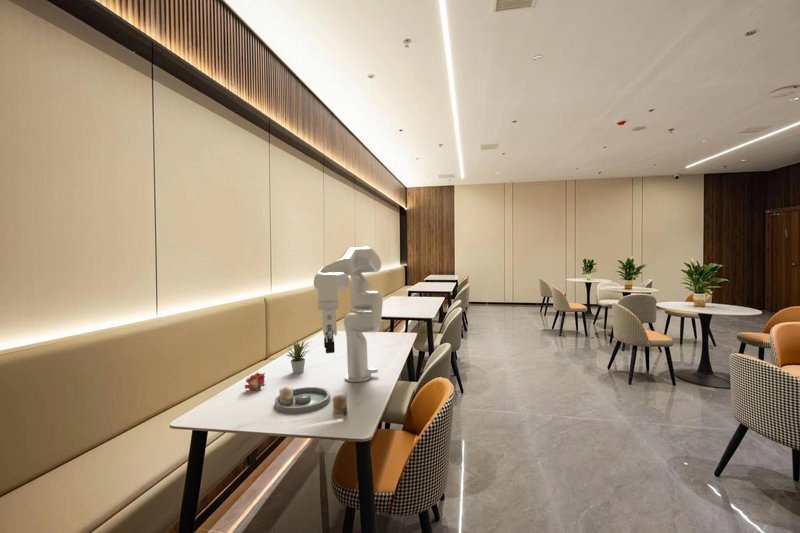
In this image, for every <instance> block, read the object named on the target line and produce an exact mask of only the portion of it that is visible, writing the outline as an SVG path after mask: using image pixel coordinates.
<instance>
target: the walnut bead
mask: <svg viewBox="0 0 800 533" xmlns="http://www.w3.org/2000/svg"><path fill="white" fill-rule="evenodd" d="M347 400H348V397H347V395H345V394H337V395H335V396H333V398H332V404H333V406H332V408H333V409H332V410H333V411H332V412H333V413H334V414H336V415H339V414H340V415H342V414H343V416H346V415H347V414H348V401H347Z"/></svg>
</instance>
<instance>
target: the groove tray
mask: <svg viewBox="0 0 800 533" xmlns="http://www.w3.org/2000/svg"><path fill="white" fill-rule="evenodd" d="M330 401H331V394H330V390H328V389H326V388H324V387H319V386H307V387H305V386H304V387H297V388H293V404H292V405H290V406H283V405H280V394H279V395H278V396H277V397H275V400H274V408H275V409H276V410H277V411H278V412H280V413H283V414H302V413H309V412H312V411H313V412H314V411H316V410H318V409H321V408H323V407H325V406H326V405H328V404H329V402H330Z"/></svg>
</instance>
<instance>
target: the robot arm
mask: <svg viewBox="0 0 800 533" xmlns="http://www.w3.org/2000/svg"><path fill="white" fill-rule="evenodd" d="M381 268H382V261H381V258H380V256H379V255H378V253H377V252H376V251H375V250H374V249H373V248H371V247H370V246H363V247H362V246H358V247H350V248H347V249H346V250H345V251H344V252H343V254H342V255H341V256H340V257H339V259H337V260H335V261H332V262H330V263H329V264H325V265H324V266H322V267H321V268H320V269H318V271H317V272H316V274H315V275H314V278H313V286H314V289H315V290H317V310H318V311H321V327H322V334H323V343H324V344H323V347H324V349H325V354H334V353H335V350H336V349H335V338H334V336H335V337H336V336H337V335H338V331H337V330H338V329H337V325H338V324H337V312H336V310H339V299H338V298H339V295H338V292H343V291H346V290H347V289H349V287H350V283H351V290H350V299H349V307H350V308H351V310H353V311H352V312H349V313H346V315H344V319H343V324H344V325H343V327H344V331H345V338H346V354H347V355H346V356H347V359H346V360H347V374H346V375H344V380H345V381H346V382H350V383H362V382H367V381H369V380H370V379H371V378H372V374H376V373H379V370H378V368H374V367H371V368H369V365H368V364H369V363H368V362H369V361H368V341H367V338H366V337H365V335H364V334H363V333H377V332H379V331H380V329H381V324H382V313H383V301H384V300H383V295H382V294H381V292H379V291H377V290H370V282H369V280H368V279H367V277H366V276H365V275H364V274H363V273H366V274H367V273H377V272H379V271H380V270H381ZM349 276H350V277H349ZM350 279H351V282H350Z"/></svg>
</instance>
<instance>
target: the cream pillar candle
mask: <svg viewBox="0 0 800 533" xmlns="http://www.w3.org/2000/svg"><path fill="white" fill-rule="evenodd" d="M293 389H294V388H293V387H292V386H283V387H281V388H279V389H278V390H279V391H278V392H279V395H280V405H283V406H290V405H292V404H293Z"/></svg>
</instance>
